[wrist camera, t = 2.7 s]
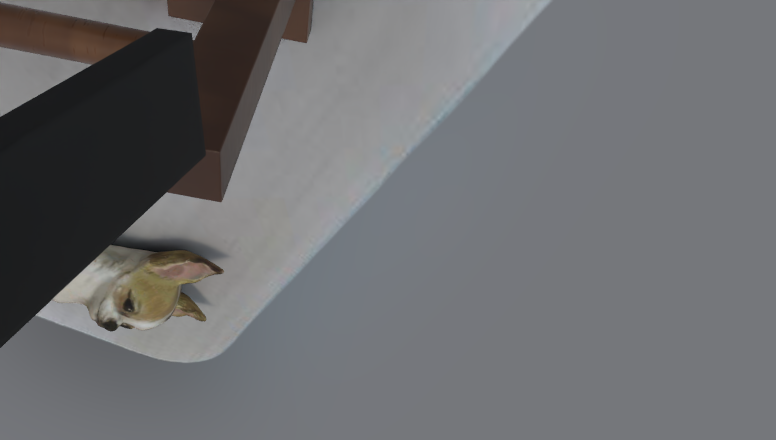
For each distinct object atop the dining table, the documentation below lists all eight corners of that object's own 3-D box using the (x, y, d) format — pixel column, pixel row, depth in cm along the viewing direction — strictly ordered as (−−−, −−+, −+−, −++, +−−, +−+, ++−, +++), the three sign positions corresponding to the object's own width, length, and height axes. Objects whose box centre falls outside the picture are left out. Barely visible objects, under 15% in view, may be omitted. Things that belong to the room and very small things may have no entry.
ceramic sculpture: (26, 278, 56) (211, 322, 60) (64, 197, 61) (231, 243, 65) (27, 338, 64) (191, 375, 67) (61, 262, 69) (210, 299, 73)
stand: (71, -17, 45) (-105, 206, 32) (29, -223, 36) (-239, -30, 23) (310, 30, 46) (234, 268, 33) (326, -161, 37) (231, 61, 24)
